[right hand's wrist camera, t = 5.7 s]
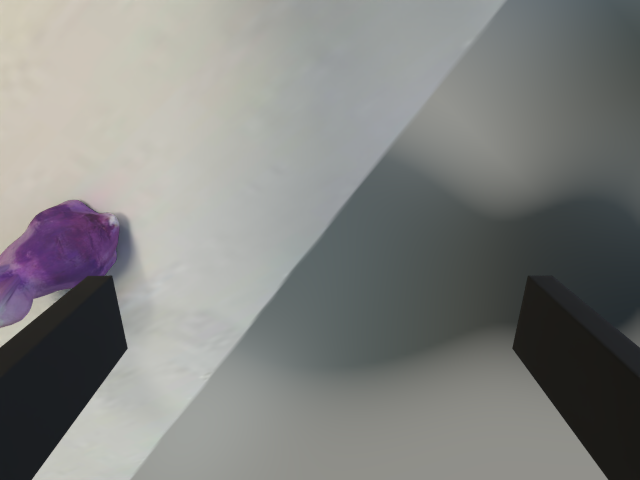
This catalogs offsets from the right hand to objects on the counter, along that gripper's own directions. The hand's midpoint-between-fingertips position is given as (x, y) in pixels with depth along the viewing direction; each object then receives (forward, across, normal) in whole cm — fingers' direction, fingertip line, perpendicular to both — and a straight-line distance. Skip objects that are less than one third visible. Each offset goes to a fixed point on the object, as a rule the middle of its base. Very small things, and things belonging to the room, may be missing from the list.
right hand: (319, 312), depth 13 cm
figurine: (+28, -25, -9) cm, 39 cm away
